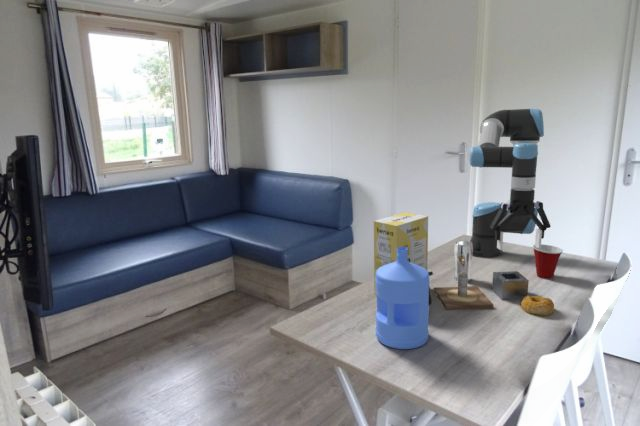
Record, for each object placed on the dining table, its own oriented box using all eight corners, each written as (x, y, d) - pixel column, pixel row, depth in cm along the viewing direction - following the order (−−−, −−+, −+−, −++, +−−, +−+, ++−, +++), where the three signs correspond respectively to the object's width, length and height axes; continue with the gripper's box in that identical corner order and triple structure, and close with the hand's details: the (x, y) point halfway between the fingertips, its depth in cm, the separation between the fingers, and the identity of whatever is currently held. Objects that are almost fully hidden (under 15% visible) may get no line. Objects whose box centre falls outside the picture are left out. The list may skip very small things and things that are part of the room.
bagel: (549, 304, 153) (550, 291, 152) (557, 318, 143) (558, 305, 141) (518, 302, 156) (519, 289, 154) (523, 316, 145) (524, 303, 144)
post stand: (434, 291, 166) (434, 265, 164) (476, 289, 166) (478, 263, 164) (445, 310, 151) (446, 281, 148) (493, 308, 151) (494, 280, 148)
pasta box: (404, 280, 178) (405, 212, 172) (426, 287, 170) (428, 216, 164) (374, 293, 166) (373, 221, 160) (396, 301, 159) (396, 225, 152)
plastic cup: (566, 280, 171) (569, 251, 169) (537, 281, 172) (540, 252, 169) (552, 270, 182) (555, 242, 179) (525, 271, 182) (527, 243, 179)
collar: (492, 289, 166) (493, 272, 164) (516, 289, 166) (517, 271, 164) (501, 299, 157) (502, 281, 155) (527, 299, 157) (528, 280, 155)
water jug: (392, 320, 145) (392, 237, 139) (437, 334, 135) (439, 246, 129) (365, 340, 133) (364, 251, 127) (412, 356, 124) (414, 261, 117)
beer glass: (469, 275, 180) (470, 240, 177) (473, 282, 173) (475, 245, 170) (451, 275, 181) (452, 240, 177) (455, 282, 174) (456, 245, 171)
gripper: (490, 192, 148) (487, 252, 153) (564, 189, 149) (559, 249, 153) (482, 188, 156) (479, 246, 160) (552, 185, 156) (548, 243, 161)
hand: (518, 248), depth 157 cm, fingers open, 13 cm apart
